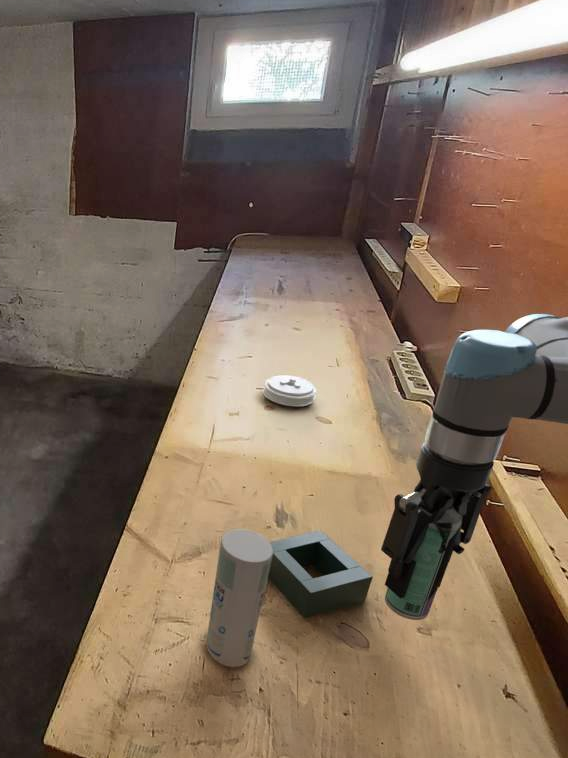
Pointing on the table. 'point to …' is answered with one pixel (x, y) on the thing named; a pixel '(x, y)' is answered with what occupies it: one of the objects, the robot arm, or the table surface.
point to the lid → (289, 390)
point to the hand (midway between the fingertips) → (412, 585)
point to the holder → (338, 570)
